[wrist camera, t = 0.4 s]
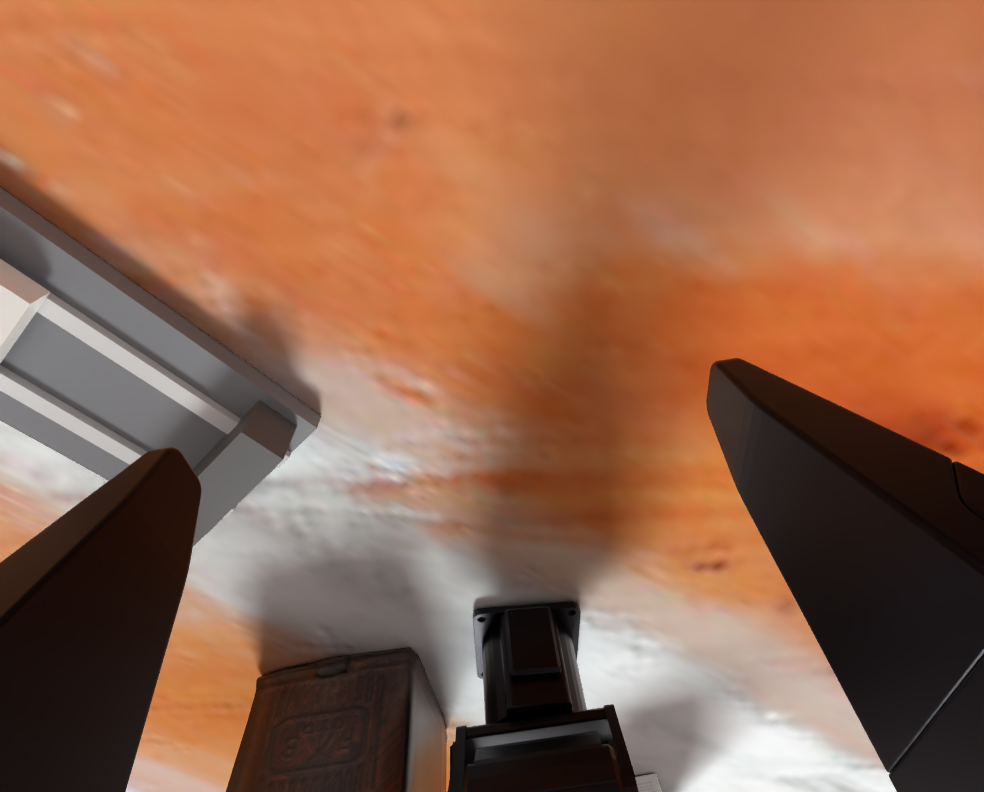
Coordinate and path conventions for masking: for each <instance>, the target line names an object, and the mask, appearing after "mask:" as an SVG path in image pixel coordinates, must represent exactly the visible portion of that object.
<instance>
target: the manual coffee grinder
mask: <svg viewBox="0 0 984 792" xmlns="http://www.w3.org/2000/svg"><path fill="white" fill-rule="evenodd" d="M446 742H447V733H446V728H445V724H444V720H443V715H442V713H441V710H440V708H439V705H438V703H437V700H436V698H435V695H434V693H433V690H432V688H431V685H430V683H429V680H428V678H427V675H426V673H425V670H424V668H423V666H422V663H421V661H420V659H419V656H418V655H417V654H416V653H414V652H413V651H412V650H411V649H410V648H407V649H399V650H391V651H383V652H375V653H367V654H359V655H351V656H343V657H336V658H331V659H326V660H321V661H318V662H316V663H311V664H306V665H301V666H296V667H292V668H287V669H283V670H280V671H277V672H274V673H271V674H268V675H265V676H262V677H259V678H258V679H257V684H256V693H255V697H254V700H253V704H252V708H251V711H250V715H249V718H248V722H247V725H246V728H245V731H244V735H243V738H242V741H241V744H240V748H239V751H238V754H237V757H236V760H235V764H234V767H233V770H232V774H231V777H230V780H229V783H228V787H227V790H226V792H446Z"/></svg>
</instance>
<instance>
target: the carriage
mask: <svg viewBox="0 0 984 792" xmlns="http://www.w3.org/2000/svg"><path fill="white" fill-rule="evenodd" d="M49 293H50V291H48V290H47V289H45V288H44V287H42V286H41V285H39V284H38V283H36V282H35V281H33V280H32V279H30V278H29V277H27V276H26V275H24V274H23V273H21V272H20V271H18V270H17V269H15V268H14V267H12V266H11V265H9V264H8V263H6V262H5V261H3V260H2V259H0V363H1V362H2V361H3V359H4V358H5V356H6V355H7V353H8V352H9V351H10V349H11V348H12V346H13V345H14V343H15V342H16V341H17V339H18V338H19V336H20V335H21V333H22V332H23V331H24V329H25V328H26V326H27V325H28V323H29V322H30V321H31V319H32V318H33V316H34V315H35V313H36V312H37V311H38V309H39V308H40V306H41V305H42V303H43V302H44V300H45V299H46V298H47V296H48V295H49Z"/></svg>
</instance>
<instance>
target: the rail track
mask: <svg viewBox="0 0 984 792" xmlns="http://www.w3.org/2000/svg"><path fill="white" fill-rule="evenodd" d="M0 259H2V260H3V261H5V262H6V263H8V264H9V265H11V266H12V267H14V268H15V269H17V270H18V271H20V272H21V273H23V274H24V275H26V276H27V277H29V278H30V279H32V280H33V281H35V282H36V283H38V284H39V285H41V286H42V287H44V288H45V289H47V290H48V291H50V293H49V295H48V296H47V298H46V299H45V300H44V302H43V303H42V305H41V306H40V308H39V309H38V311H37V312H36V313H35V315H34V316H33V318H32V319H31V321H30V322H29V323H28V325H27V326H26V328H25V329H24V331H23V332H22V333H21V335H20V336H19V338H18V339H17V341H16V342H15V343H14V345H13V346H12V348H11V349H10V351H9V352H8V353H7V355H6V356H5V358H4V359H3V361H2V362H1V363H0V421H2V422H4V423H6V424H8V425H9V426H11V427H13V428H15V429H17V430H18V431H20V432H22V433H24V434H26V435H28V436H29V437H31V438H33V439H35V440H37V441H38V442H40V443H42V444H44V445H46V446H47V447H49V448H51V449H53V450H55V451H57V452H58V453H60V454H62V455H64V456H66V457H67V458H69V459H71V460H73V461H75V462H76V463H78V464H80V465H82V466H84V467H86V468H87V469H89V470H91V471H93V472H95V473H96V474H98V475H100V476H102V477H104V478H105V479H107V480H111V479H112V478H113V477H115V476H116V475H117V474H119V473H120V472H121V471H123V470H124V469H125V468H126V467H128V466H129V465H130V464H132V463H133V462H134V461H136V460H137V459H138V458H140V457H141V456H142V455H144V454H145V453H146V452H148V451H151V450H155V449H161V448H168V447H174V448H177V449H178V450H179V451H180V452H181V453H182V454H183V456H184V457H185V459H186V460H187V462H188V463H189V465H190V467H191V468H192V470H193V471H194V473H195V474H196V476H197V477H198V479H199V481H200V484H201V489H202V493H201V500H200V506H199V512H198V518H197V524H196V530H195V536H194V542H193V546H194V545H195V544H196V543H197V542H198V541H199V540H200V539H201V538H202V537H203V536H204V535H205V534H207V533H208V532H209V531H210V530H211V529H212V528H213V527H214V526H215V525H216V524H217V523H218V522H220V521H221V520H222V519H223V518H224V519H226V518H227V517H228V516H229V515H230V514H231V513H232V512H233V511H234V510H235V508H236V506H237V504H238V503H239V502H240V501H241V500H242V499H243V498H245V497H246V496H247V495H248V494H249V493H250V492H251V491H252V490H253V489H254V488H255V487H256V486H257V485H258V484H259V483H260V482H261V481H262V480H263V479H264V478H265V477H266V476H267V475H268V474H270V473H271V472H272V471H273V470H274V469H275V468H276V467H280V466H281V465H282V464H283V463H284V462H285V461H286V460H287V459H288V458H289V457H290V455H291V452H292V451H293V450H295V449H296V448H297V447H298V446H299V445H300V444H301V443H302V442H303V441H304V440H305V439H306V438H307V437H308V436H309V435H310V434H311V433H312V432H313V431H314V430H315V429H316V428H317V426H318V423H319V421H320V418H321V416H320V415H319V414H317V413H316V412H315V411H313V410H312V409H310V408H309V407H308V406H306V405H305V404H303V403H302V402H301V401H299V400H298V399H296V398H295V397H294V396H292V395H291V394H289V393H288V392H287V391H285V390H284V389H282V388H281V387H280V386H278V385H277V384H275V383H274V382H273V381H271V380H270V379H268V378H267V377H266V376H264V375H263V374H261V373H260V372H259V371H257V370H256V369H254V368H253V367H252V366H250V365H249V364H247V363H246V362H245V361H243V360H242V359H240V358H239V357H238V356H236V355H235V354H233V353H232V352H231V351H229V350H228V349H226V348H225V347H224V346H222V345H221V344H219V343H218V342H217V341H215V340H214V339H212V338H211V337H210V336H208V335H207V334H205V333H204V332H203V331H201V330H200V329H198V328H197V327H196V326H194V325H193V324H191V323H190V322H189V321H187V320H186V319H184V318H183V317H182V316H180V315H179V314H177V313H176V312H175V311H173V310H172V309H170V308H169V307H168V306H166V305H165V304H163V303H162V302H161V301H159V300H158V299H156V298H155V297H154V296H152V295H151V294H149V293H148V292H147V291H145V290H144V289H142V288H141V287H140V286H138V285H137V284H135V283H134V282H133V281H131V280H130V279H128V278H127V277H126V276H124V275H123V274H121V273H120V272H119V271H117V270H116V269H114V268H113V267H112V266H110V265H109V264H107V263H106V262H105V261H103V260H102V259H100V258H99V257H98V256H96V255H95V254H93V253H92V252H91V251H89V250H88V249H86V248H85V247H84V246H82V245H81V244H79V243H78V242H77V241H75V240H74V239H72V238H71V237H70V236H68V235H67V234H65V233H64V232H63V231H61V230H60V229H58V228H57V227H56V226H54V225H53V224H51V223H50V222H49V221H47V220H46V219H44V218H43V217H42V216H40V215H39V214H37V213H36V212H35V211H33V210H32V209H30V208H29V207H28V206H26V205H25V204H23V203H22V202H21V201H19V200H18V199H16V198H15V197H14V196H12V195H11V194H9V193H8V192H7V191H5V190H4V189H2V188H1V187H0Z"/></svg>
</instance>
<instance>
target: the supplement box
mask: <svg viewBox="0 0 984 792" xmlns="http://www.w3.org/2000/svg"><path fill="white" fill-rule="evenodd" d="M635 779H636V783H637V787H638V791H639V792H662V791H661V788H660V784H659V781H658V777H657V775H656V774H648V775H643V776H637V777H635Z"/></svg>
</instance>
